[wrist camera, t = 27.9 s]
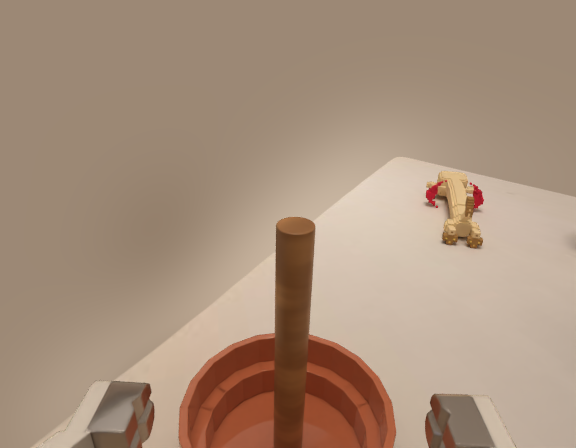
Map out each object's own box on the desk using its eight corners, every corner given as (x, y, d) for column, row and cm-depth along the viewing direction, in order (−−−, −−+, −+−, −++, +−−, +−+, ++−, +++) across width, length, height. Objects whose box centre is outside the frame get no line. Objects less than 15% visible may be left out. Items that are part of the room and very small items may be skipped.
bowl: (147, 461, 31) (135, 408, 29) (281, 356, 41) (282, 309, 39) (293, 645, 22) (297, 593, 19) (419, 453, 32) (433, 401, 30)
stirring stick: (267, 453, 31) (268, 224, 22) (286, 435, 33) (294, 213, 24) (288, 473, 30) (297, 238, 21) (307, 452, 32) (323, 225, 23)
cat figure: (493, 257, 63) (472, 188, 83) (509, 208, 58) (483, 148, 79) (426, 247, 65) (423, 183, 86) (437, 199, 60) (430, 143, 81)
